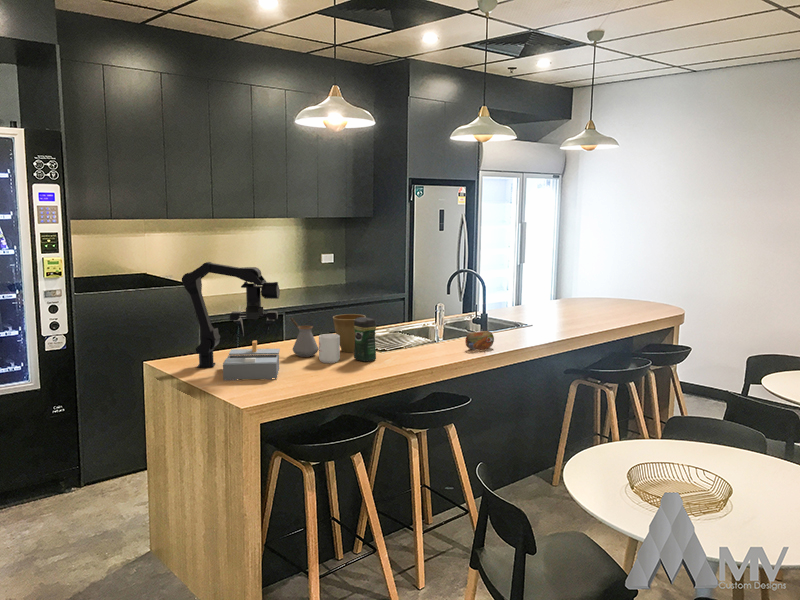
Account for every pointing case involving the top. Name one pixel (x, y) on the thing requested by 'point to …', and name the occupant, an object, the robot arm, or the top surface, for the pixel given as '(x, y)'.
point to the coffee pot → (304, 341)
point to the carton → (251, 369)
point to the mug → (329, 348)
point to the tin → (479, 340)
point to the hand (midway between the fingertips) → (254, 336)
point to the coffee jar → (364, 339)
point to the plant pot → (346, 330)
